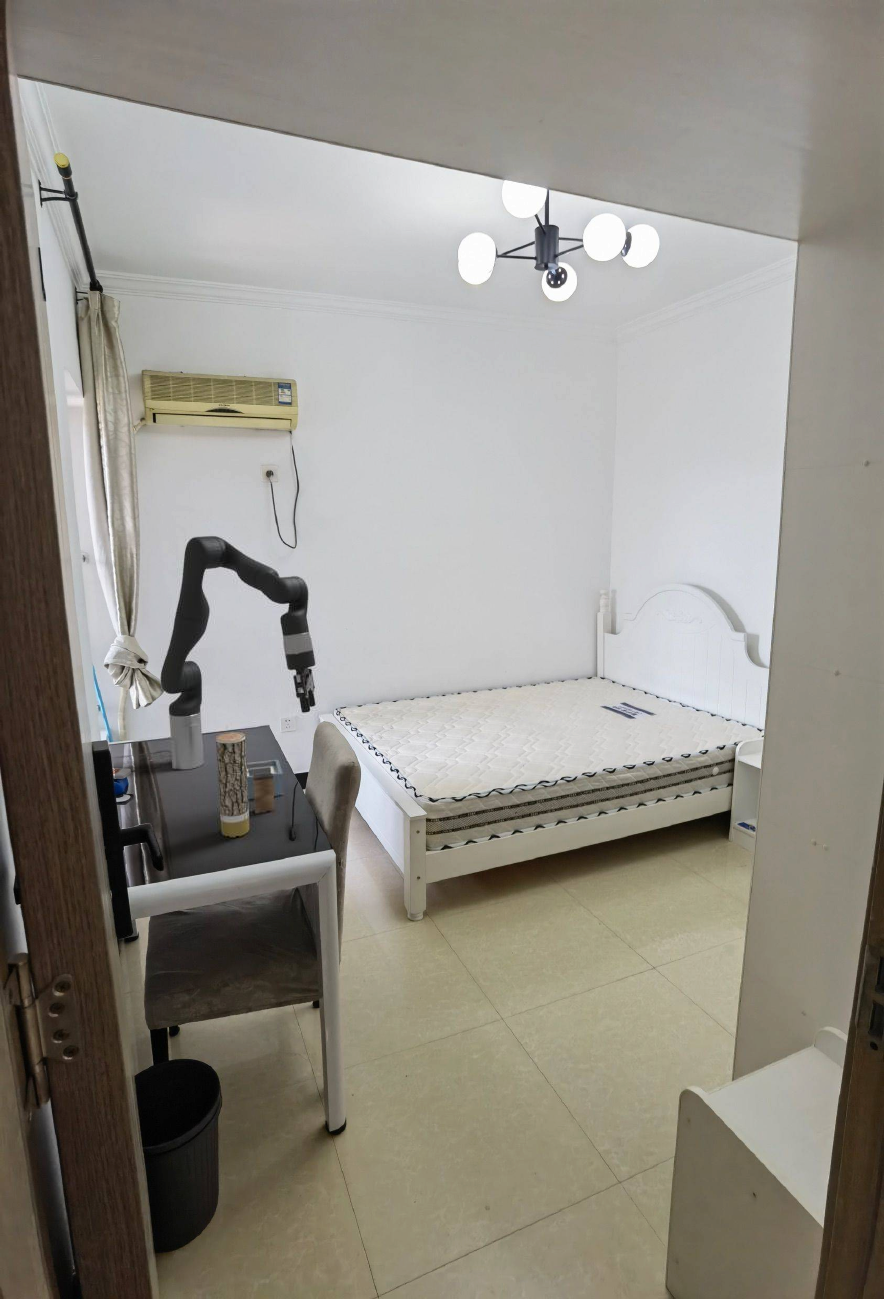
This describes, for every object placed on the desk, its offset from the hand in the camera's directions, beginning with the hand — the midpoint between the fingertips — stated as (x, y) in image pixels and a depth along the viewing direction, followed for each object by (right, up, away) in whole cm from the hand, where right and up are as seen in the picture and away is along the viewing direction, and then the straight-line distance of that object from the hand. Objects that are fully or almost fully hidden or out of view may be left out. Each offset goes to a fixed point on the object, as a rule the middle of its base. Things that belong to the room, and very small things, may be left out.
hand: (308, 709), depth 185 cm
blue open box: (-17, -24, +12) cm, 32 cm away
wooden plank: (-12, -27, -1) cm, 30 cm away
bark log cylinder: (-16, -30, -14) cm, 36 cm away
